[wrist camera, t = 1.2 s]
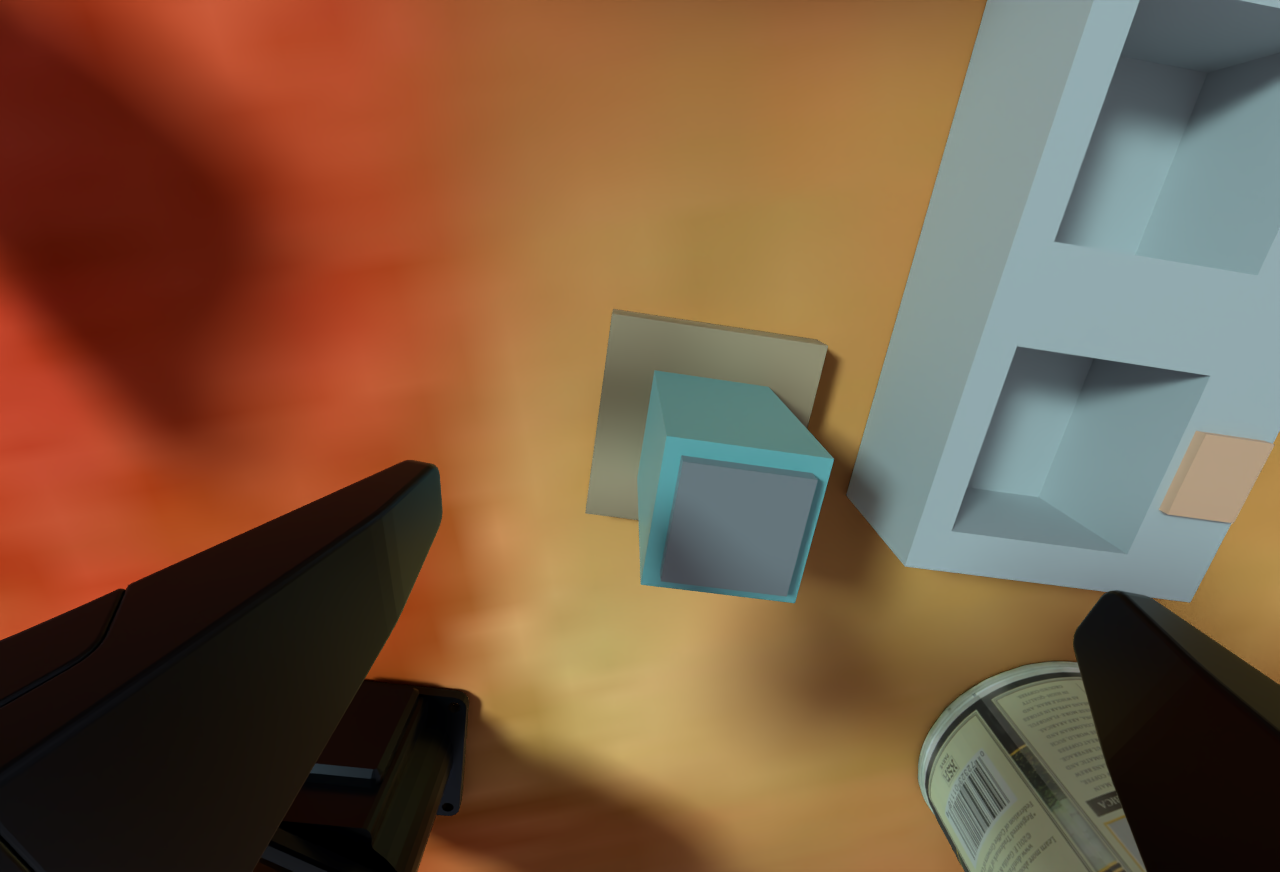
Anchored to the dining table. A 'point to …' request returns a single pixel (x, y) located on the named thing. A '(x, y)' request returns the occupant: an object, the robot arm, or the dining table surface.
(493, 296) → the dining table surface
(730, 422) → the plug
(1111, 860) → the coffee can
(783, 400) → the beige square plate
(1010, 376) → the socket block
